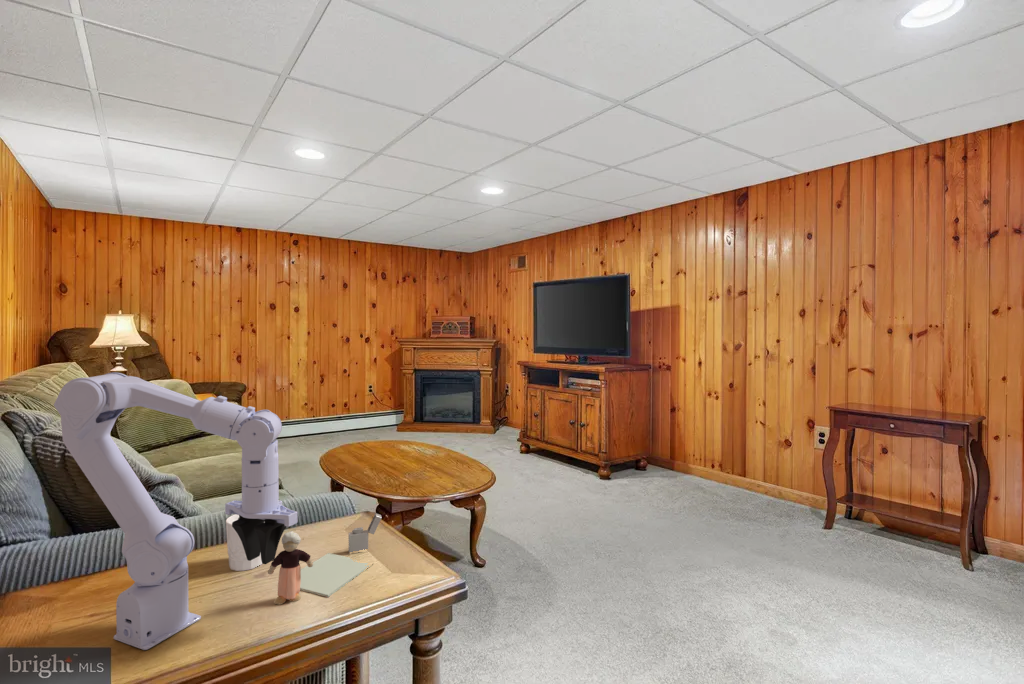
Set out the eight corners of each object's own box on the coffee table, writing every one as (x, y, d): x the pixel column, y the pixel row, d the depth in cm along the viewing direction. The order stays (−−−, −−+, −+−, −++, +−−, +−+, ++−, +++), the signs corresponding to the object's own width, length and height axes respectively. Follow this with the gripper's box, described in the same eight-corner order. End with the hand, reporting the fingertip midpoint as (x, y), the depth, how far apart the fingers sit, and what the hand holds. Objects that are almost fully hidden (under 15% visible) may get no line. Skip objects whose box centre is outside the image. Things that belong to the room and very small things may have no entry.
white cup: (236, 576, 103) (236, 528, 102) (219, 564, 107) (219, 518, 107) (274, 562, 109) (274, 516, 108) (256, 552, 114) (256, 508, 113)
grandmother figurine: (270, 609, 91) (270, 540, 91) (267, 599, 94) (266, 532, 94) (315, 597, 95) (315, 531, 95) (310, 588, 98) (310, 524, 98)
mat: (328, 597, 95) (328, 595, 95) (279, 584, 100) (279, 582, 100) (373, 564, 108) (373, 562, 108) (328, 554, 113) (328, 552, 113)
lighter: (349, 554, 113) (349, 519, 113) (348, 551, 115) (348, 516, 114) (381, 549, 116) (381, 514, 116) (380, 546, 117) (380, 512, 117)
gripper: (310, 480, 88) (310, 557, 89) (248, 471, 94) (249, 543, 94) (278, 493, 82) (279, 575, 82) (214, 482, 87) (214, 559, 88)
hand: (261, 559), depth 88 cm, fingers open, 3 cm apart
